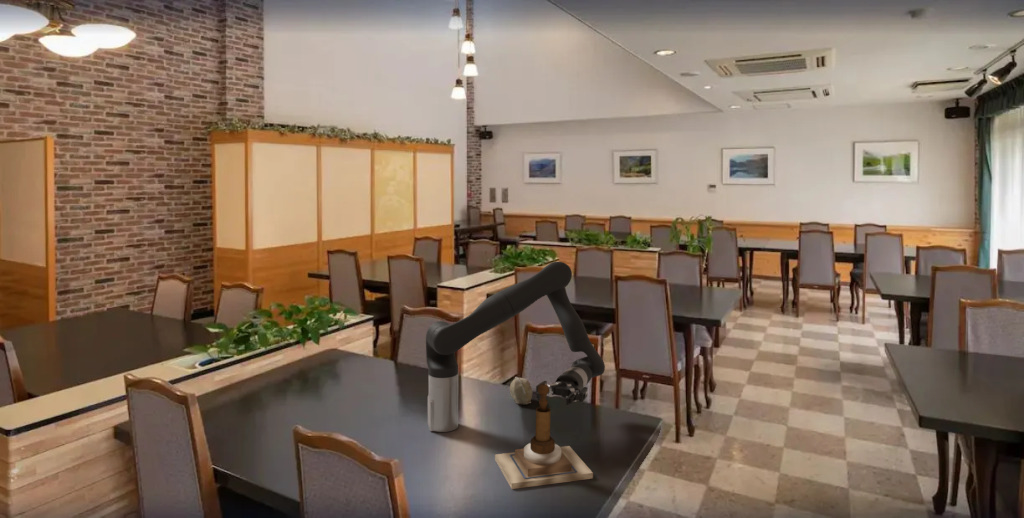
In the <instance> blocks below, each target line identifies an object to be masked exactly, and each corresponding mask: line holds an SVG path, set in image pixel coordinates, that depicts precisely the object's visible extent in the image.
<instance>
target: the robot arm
mask: <svg viewBox="0 0 1024 518" xmlns="http://www.w3.org/2000/svg"><path fill="white" fill-rule="evenodd" d="M572 274H573V272H572V269H571V267H570V266H569V265H568V264H567V263H565V262H563V261H553V262H551V263H548V264H547V265H546V266H544V267H543V268H541V270H540V271H538V272H537V273H536V274H534V275H533V276H531V277H529V278H527V279H524V280H523V281H520V282H518V283H514V284H512V285H510V286H508V287H506V288H504V289H502V290H499V291H498V292H496V293H494V294H492V295H490V296H489V297H487V298H485V299H484V300H483V301H482V302H481V303H480V304H479V305H478V306H477V307H476V308H475V309H474V310H473V311H472V312H471V313H470V314H468V315H467V316H465V317H463V318H462V319H459V320H458V321H456V322H454V323H451V324H450V323H449V322H447V321H441V320H439V321H436V322H434V323H432V324H431V325H429V327H428V328H427V330H426V331H427V332H426V335H425V352H426V354H425V355H426V364H427V368H428V370H427V371H428V395H427V426H428V429H429V431H430V432H438V433H447V432H451V431H452V432H453V431H454V430H456V429H458V427H459V365H458V362H457V360H456V355H455V353H456V352H458V351H460V349H462V348H464V347H465V346H466V345H468V344H469V343H470V342H472V341H473V340H475V339H476V338H478V337H479V336H480V335H483V334H484V333H487V332H488V331H491V330H492V329H493V328H496V327H497V326H499V325H501V324H503V323H505V322H506V321H508V320H510V319H511V318H513V317H515V316H517V315H518V314H520V313H521V312H523V311H524V310H526V309H527V308H529V307H530V306H531V305H533V304H534V303H536V301H538V300H540V299H542V298H543V297H545V296H546V297H547V299H548V300H549V301H550V304H551V306H552V308H553V310H554V312H555V314H556V316H557V318H558V321H559V323H560V326H561V329H562V331H563V334H564V336H565V339H566V342H567V344H568V347H569V350H570V352H573V353H581V352H582V353H584V354H585V355H586V356H584V357H581V358H578V359H575V360H574V361H573V362H572V363H571V367H570V368H568V369H566V370H565V371H564V372H563V373H561V374H560V375H559V376H558V377H557V378H556V380H555V381H554V382H552V383H548V381H547V380H543V381H541V382H540V383H538V384H537V385H536V386H535V395H536V399H537V401H539V400H540V398H541V396H540V394H539V392H538V386H539V385H540V384H547V385H548V387H549V392H548V394H547V396H546V397H549V398H553V397H562V398H564V399H566V402H565V403H566V406H570V405H572V404H573V403H574V402H576V403H577V401H578V402H580V403H583V402H584V401H585V400H587V399H586V398H587V397H588V393H589V392H588V387H587V385H588V384H589V383H590V381H591V380H592V378H596V377H599V376H601V375H603V374H604V373H605V369H606V364H605V362H604V360H603V358H602V356H601V355H600V354H599V352H598V351H597V350H596V348H595V347H594V345H593V344H592V342H591V341H590V337H589V335H588V332H587V329H586V327H585V325H584V323H583V321H582V320H583V319H581V317H580V315H579V314H578V313H577V311H576V309H575V308H574V307H573V305H572V303H571V301H570V299H569V296H568V294H567V289H566V287H568V285H569V284H570V282H571V280H572V276H573V275H572Z"/></svg>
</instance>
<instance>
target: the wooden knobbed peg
mask: <svg viewBox="0 0 1024 518" xmlns="http://www.w3.org/2000/svg"><path fill="white" fill-rule="evenodd" d="M539 384H540V383H539ZM547 384H548V383H547ZM547 384H540V385H539V386H538V392H539V394H540V396H541V398H540V400H538V403H539V406H538V407H536V408H535V435H534V436H533V437H532V438H531V439H530V443H531V450H532V451H533V452H535V453H538V454H549V453H551V452H553V451H554V450H555V444H556V443H555V442H556V441H555V439H554V438H553V437H552V436H551V413H552V411H551V410H552V409H551V408H550V407H548V406H547V405H548V399H547V397H548V396H547V394H548V392H549V387H548V385H547Z"/></svg>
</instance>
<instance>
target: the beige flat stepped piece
mask: <svg viewBox="0 0 1024 518" xmlns="http://www.w3.org/2000/svg"><path fill="white" fill-rule="evenodd" d="M494 460H495V462H496V463H497V466H498V467H499V470H500V471H501V473H502V475H503V476H504V478H505V480H506V482H507V483H508V485H509V486H510V489H511V490H515V489H524V488H531V487H538V486H545V485H553V484H560V483H568V482H569V483H570V482H576V481H583V480H590V479H594V472H593V471H592V470H591V469H590V468H589V467H588V466H587V464H586V463H585V462H584V461H583V460H582V459H581V457H580V456H579V455H578V454H577V453H576V452H575V450H573V448H572V447H571V446H570V445H565V446H559V445H558V444H557V443H555V450H554V451H553V452H551V453H549V454H538V453H535V452H533V451H532V450H531V442H529V443H528V444H526V445H525V446H524V447H523V448H517V449H514V452H503V453H497V454H494Z"/></svg>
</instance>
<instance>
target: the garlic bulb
mask: <svg viewBox="0 0 1024 518" xmlns="http://www.w3.org/2000/svg"><path fill="white" fill-rule="evenodd" d="M509 393H510V396H511V397H512V398H513V401H514V403H515V404H517V405H528V404H531V403H532V401H531V400H532V398H533V388H532V386H531V383H530V381H529V380H528V379H527V378H525V377H519V376H515V377H514V378H513V380H512V381H511V383H510V385H509Z"/></svg>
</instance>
